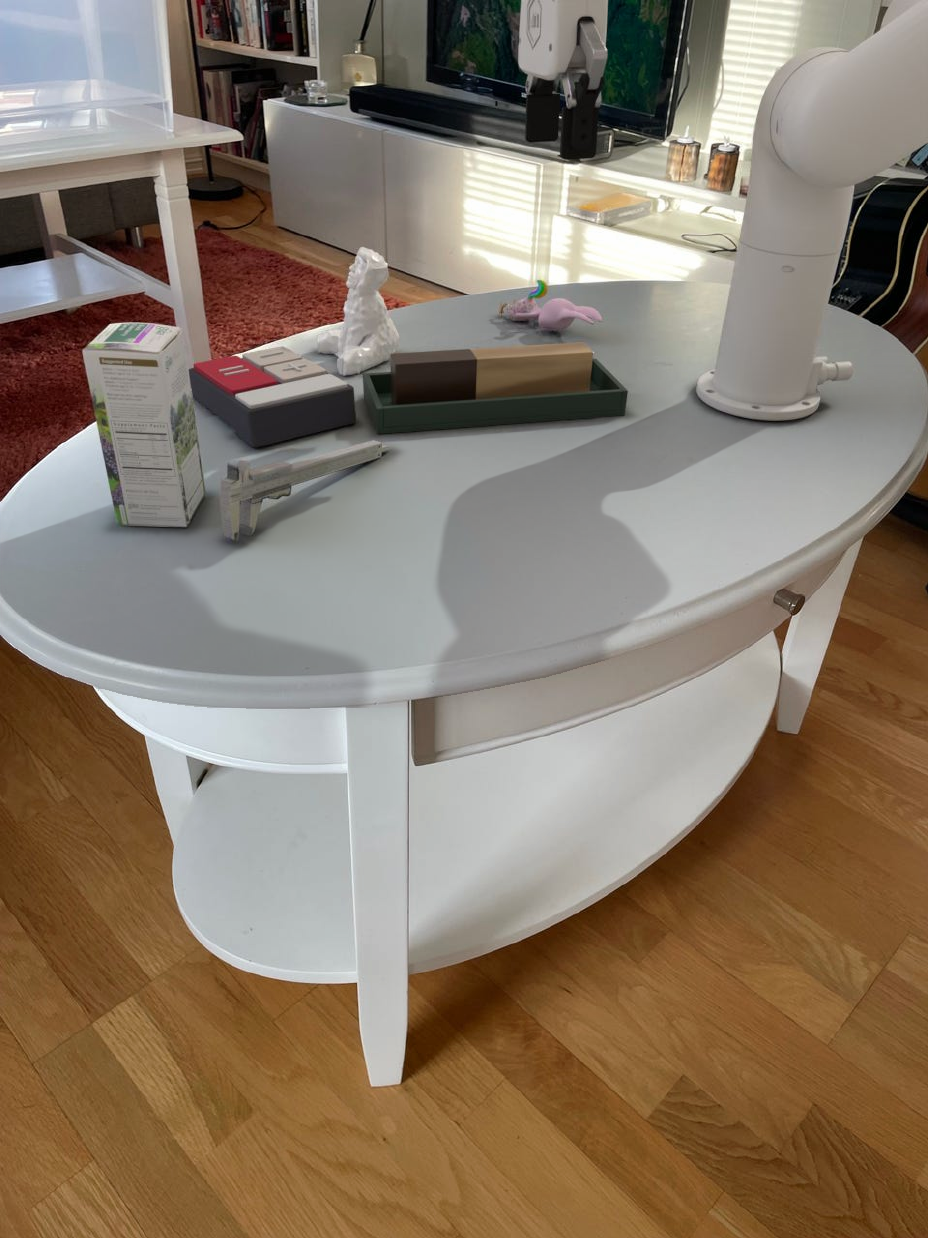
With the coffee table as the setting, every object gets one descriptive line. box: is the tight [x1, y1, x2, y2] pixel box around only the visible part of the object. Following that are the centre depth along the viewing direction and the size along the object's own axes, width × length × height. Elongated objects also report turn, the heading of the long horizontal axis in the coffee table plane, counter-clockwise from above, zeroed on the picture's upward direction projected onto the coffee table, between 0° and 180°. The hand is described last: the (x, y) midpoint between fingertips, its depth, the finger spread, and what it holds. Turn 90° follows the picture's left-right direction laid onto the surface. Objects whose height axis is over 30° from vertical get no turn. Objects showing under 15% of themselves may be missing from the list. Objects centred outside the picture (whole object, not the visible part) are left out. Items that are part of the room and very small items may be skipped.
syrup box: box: [81, 322, 206, 528], centre depth 72 cm, size 6×6×14 cm
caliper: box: [219, 439, 391, 542], centre depth 77 cm, size 20×1×6 cm, turn 148°
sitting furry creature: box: [316, 246, 401, 377], centre depth 102 cm, size 10×9×12 cm
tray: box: [362, 358, 629, 435], centre depth 94 cm, size 25×9×3 cm, turn 103°
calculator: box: [188, 345, 357, 448], centre depth 92 cm, size 11×4×15 cm
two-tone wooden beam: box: [389, 341, 594, 405], centre depth 93 cm, size 3×20×5 cm, turn 104°
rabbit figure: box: [498, 279, 603, 332], centre depth 113 cm, size 6×6×15 cm
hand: (558, 149), depth 86 cm, fingers open, 9 cm apart
